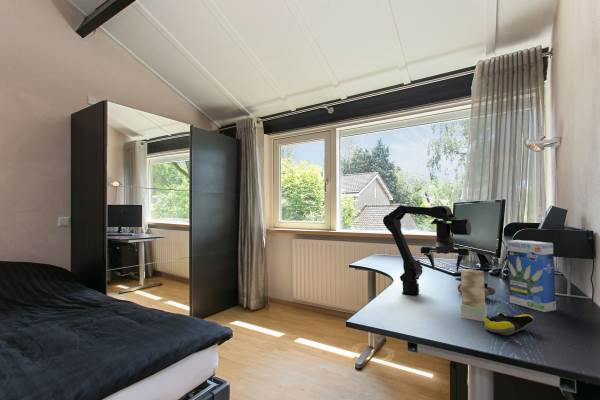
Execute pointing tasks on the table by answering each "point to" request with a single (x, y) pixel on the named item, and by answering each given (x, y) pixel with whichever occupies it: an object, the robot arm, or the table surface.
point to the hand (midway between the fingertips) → (445, 270)
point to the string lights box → (531, 274)
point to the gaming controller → (507, 323)
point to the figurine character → (487, 289)
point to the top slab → (473, 309)
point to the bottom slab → (473, 316)
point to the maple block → (473, 287)
